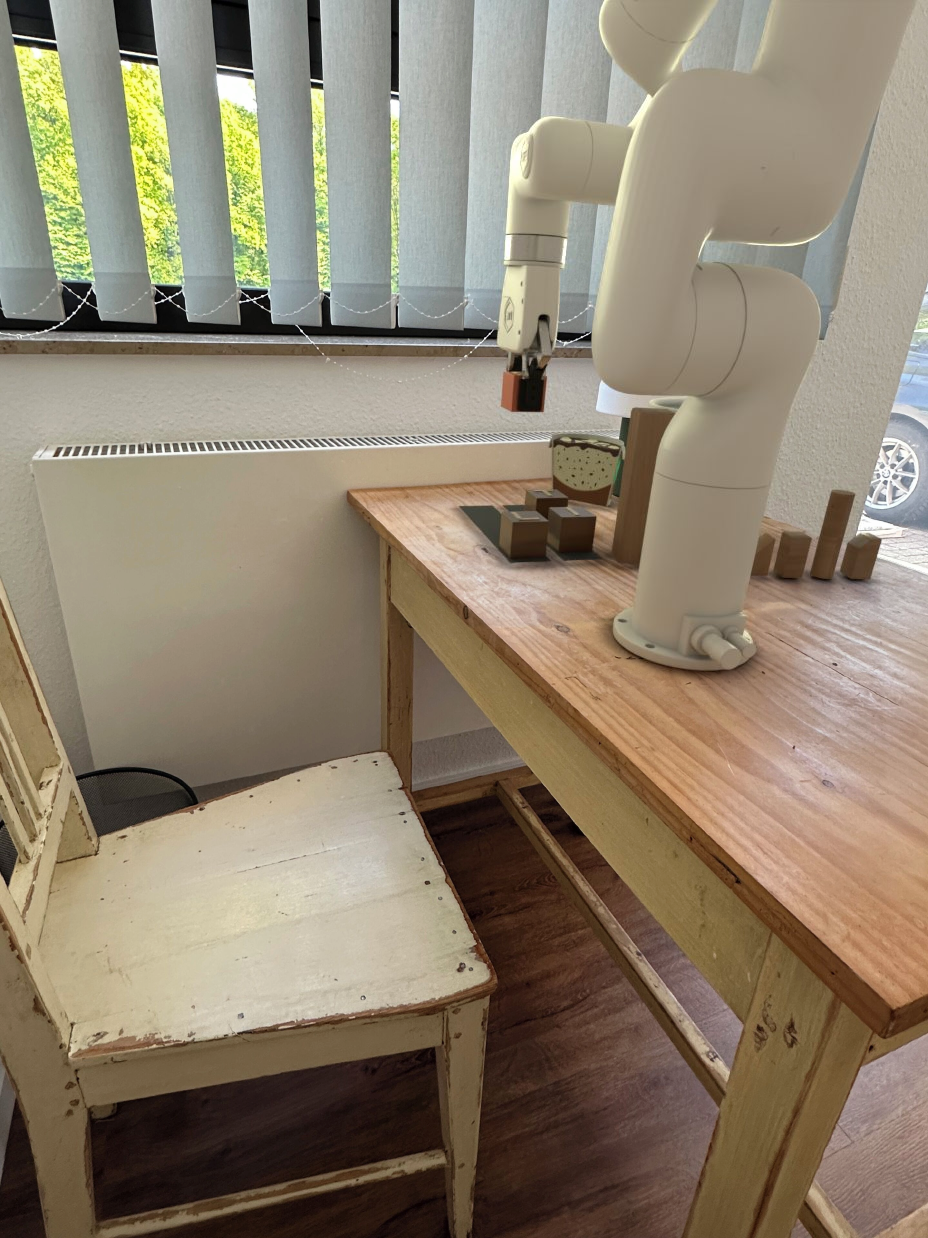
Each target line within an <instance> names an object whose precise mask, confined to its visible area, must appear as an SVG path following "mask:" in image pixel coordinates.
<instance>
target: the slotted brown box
mask: <svg viewBox="0 0 928 1238" xmlns="http://www.w3.org/2000/svg"><path fill="white" fill-rule="evenodd" d="M597 519H598V518H597V515H595V514H594V513H592V512H591V511H589V510H588V509H586V508H585V507H583V506H568V507H549V513H548V521H549V527H548V537H547V543H548V544H549V545H550V546H551V547H552V548H554V549H555V550H556V551H557V552H558V553H567V552H592V550H594V549H593V548H594V541H595V533H596V524H597Z"/></svg>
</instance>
